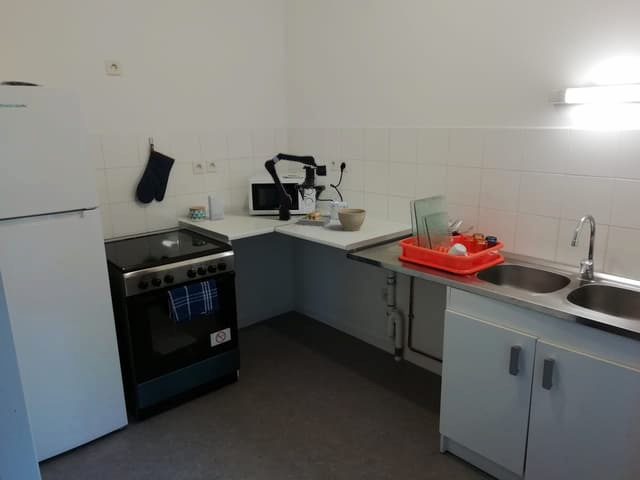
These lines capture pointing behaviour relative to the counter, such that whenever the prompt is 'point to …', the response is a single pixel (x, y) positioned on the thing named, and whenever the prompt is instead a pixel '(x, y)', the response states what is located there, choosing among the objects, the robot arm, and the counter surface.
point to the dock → (314, 221)
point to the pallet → (314, 215)
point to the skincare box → (215, 207)
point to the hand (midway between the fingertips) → (310, 200)
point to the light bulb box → (337, 208)
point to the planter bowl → (351, 218)
